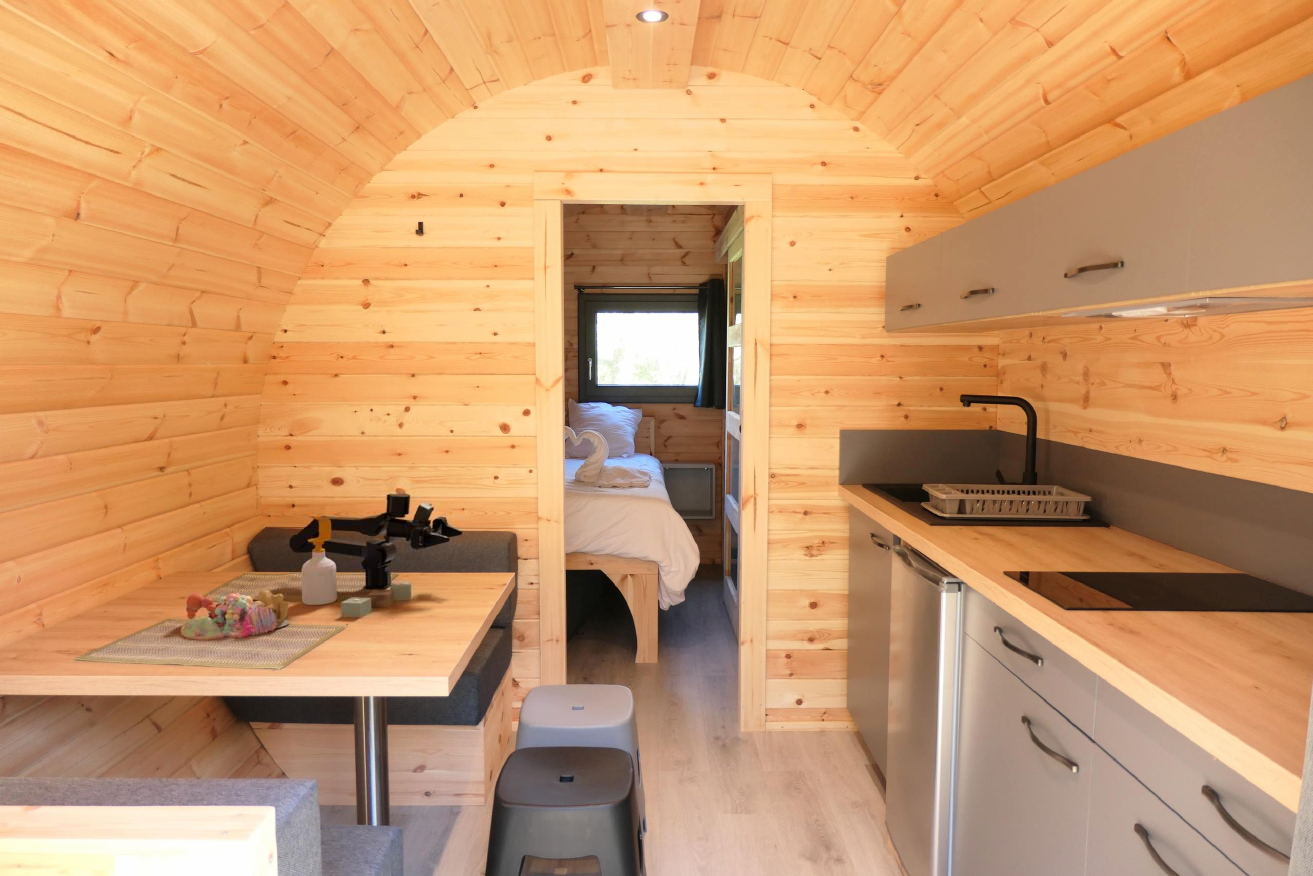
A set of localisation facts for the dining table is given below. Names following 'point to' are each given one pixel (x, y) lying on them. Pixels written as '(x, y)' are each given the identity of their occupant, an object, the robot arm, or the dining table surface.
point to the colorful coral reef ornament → (235, 616)
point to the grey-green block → (356, 607)
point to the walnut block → (381, 598)
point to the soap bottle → (319, 570)
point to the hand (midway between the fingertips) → (455, 536)
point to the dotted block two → (401, 590)
